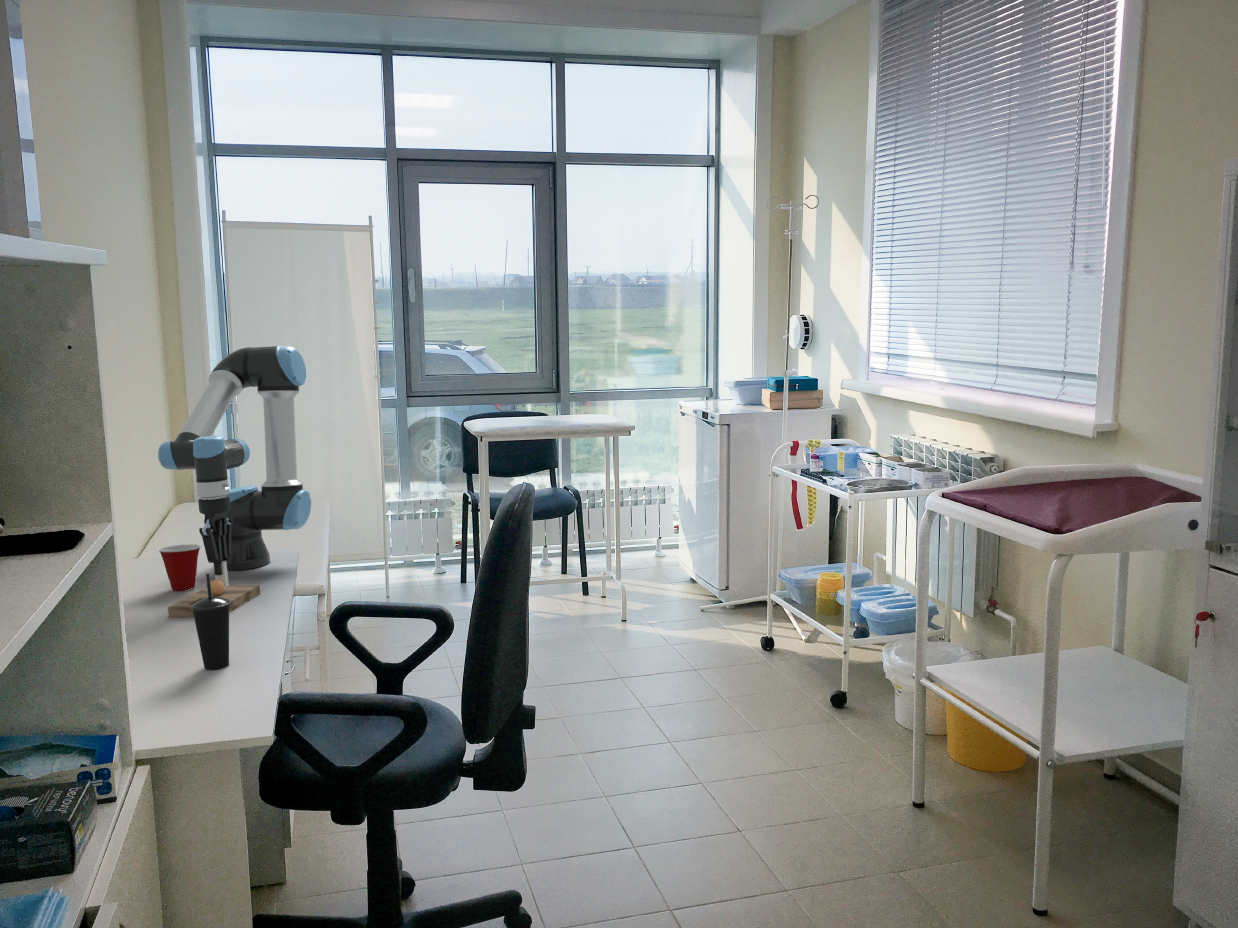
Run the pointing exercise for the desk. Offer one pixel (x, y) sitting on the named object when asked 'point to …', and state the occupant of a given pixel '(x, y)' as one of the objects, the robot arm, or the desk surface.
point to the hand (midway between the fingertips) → (222, 586)
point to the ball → (216, 587)
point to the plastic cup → (181, 565)
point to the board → (231, 592)
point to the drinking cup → (213, 629)
